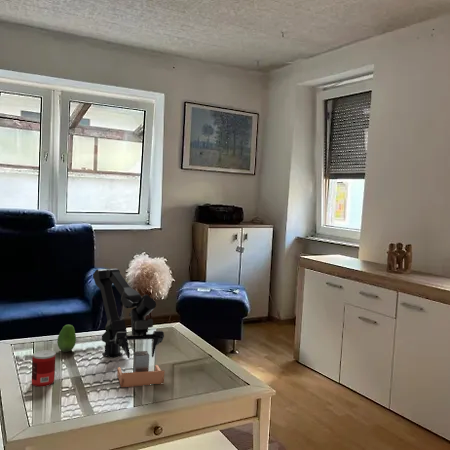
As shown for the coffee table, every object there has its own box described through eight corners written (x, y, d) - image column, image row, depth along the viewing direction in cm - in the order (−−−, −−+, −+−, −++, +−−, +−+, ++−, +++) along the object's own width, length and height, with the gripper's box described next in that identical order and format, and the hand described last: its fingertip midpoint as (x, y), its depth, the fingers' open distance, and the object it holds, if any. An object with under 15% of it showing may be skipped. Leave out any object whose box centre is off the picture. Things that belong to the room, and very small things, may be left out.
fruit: (78, 351, 206) (80, 325, 206) (62, 355, 201) (63, 328, 200) (69, 347, 212) (71, 321, 211) (53, 350, 206) (54, 323, 205)
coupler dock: (117, 374, 184) (118, 362, 184) (157, 372, 189) (158, 360, 189) (121, 387, 173) (121, 374, 172) (163, 384, 178) (164, 371, 178)
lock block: (132, 376, 182) (134, 351, 181) (145, 375, 184) (147, 350, 183) (134, 381, 177) (136, 355, 177) (147, 380, 179) (149, 355, 178)
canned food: (58, 380, 175) (60, 352, 174) (43, 388, 167) (45, 358, 166) (41, 376, 177) (43, 348, 176) (26, 384, 170) (27, 354, 169)
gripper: (117, 311, 181) (119, 349, 172) (164, 311, 188) (168, 347, 178) (114, 325, 189) (115, 362, 180) (159, 324, 196) (163, 359, 186)
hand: (141, 357), depth 181 cm, fingers open, 9 cm apart
